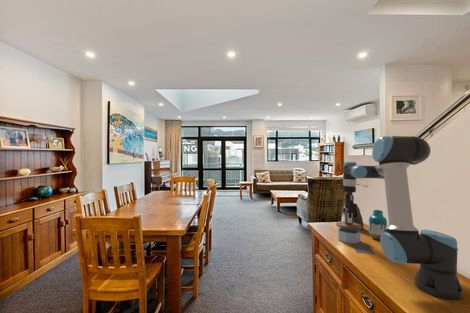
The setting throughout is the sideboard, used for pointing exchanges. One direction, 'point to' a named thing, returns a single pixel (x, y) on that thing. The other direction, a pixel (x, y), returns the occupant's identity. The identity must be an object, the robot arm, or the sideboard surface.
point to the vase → (377, 224)
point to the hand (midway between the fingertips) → (348, 221)
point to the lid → (348, 225)
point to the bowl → (348, 235)
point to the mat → (363, 249)
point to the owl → (357, 215)
